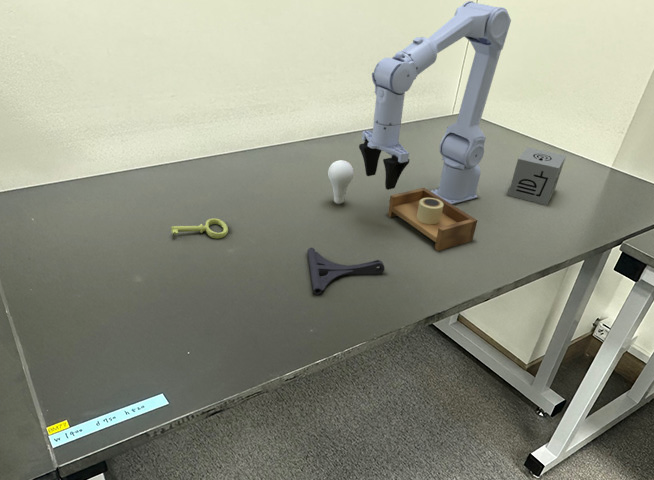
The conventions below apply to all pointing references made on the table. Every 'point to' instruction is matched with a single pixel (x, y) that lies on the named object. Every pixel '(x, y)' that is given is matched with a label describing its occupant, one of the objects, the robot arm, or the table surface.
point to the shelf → (445, 233)
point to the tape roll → (430, 210)
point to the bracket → (336, 270)
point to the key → (203, 228)
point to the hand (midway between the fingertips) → (380, 181)
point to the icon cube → (536, 175)
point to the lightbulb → (340, 179)
